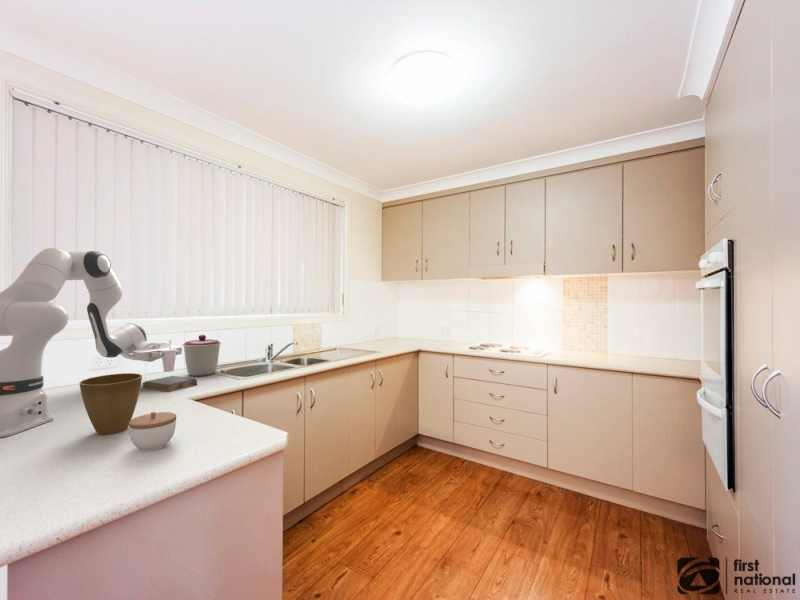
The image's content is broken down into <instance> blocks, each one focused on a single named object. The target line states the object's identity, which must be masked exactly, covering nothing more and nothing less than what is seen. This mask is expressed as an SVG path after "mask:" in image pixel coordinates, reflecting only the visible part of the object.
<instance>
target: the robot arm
mask: <svg viewBox="0 0 800 600" xmlns="http://www.w3.org/2000/svg"><path fill="white" fill-rule="evenodd" d="M111 265H112V263H111V261H110V259H109V257H108V256H107V255H106V254H105V253H103V252H100V251H93V250H90V251H70V252H69V251H68V252H66V251H65V250H63V249H60V248H57V247H47V248H45V249H42V250H41V251H40V252H38V253H37V254H36V255H35V256H33V258H32V259H31V260H30V261H29V263H27V265H26V266H25V268H24V269H23V271H22V272H21V273H20V275H19V276H17V278H16V279H15V280H14V281H13V283H12V284H10V286H8V287H6V288H5V289H3V290H1V291H0V337H11V336H12V339H11V341H10V344H9V345H8V346H7V347H5V348H3V349H2V350H0V438H4V437H10V436H12V435H15V434H18V433H21V432H24V431H27V430H29V429H31V428H33V427H34V428H35V427H37V426H40V425H43V424H45V423H47V422H50V421H54V416H53V415H50V410H49V401H48V396H47V395H48V394H46V393H45V392H44V390H43V387H44V382H45V380H44V376H43V375H42V368H43V367H42V365H43V363H42V362H43V355H44V351H45V348H46V346H47V344H48V343H49V341H50V340H51V339H52V338H53V337H54V336H56V335H57V334H58V333H61V332H62V331H63V330H64V328H66V327H67V324H68V321H69V315H68V312H67V310H66V309H65V308H64V307H63V306H62V305H61V304H57V303H53V302H51V301H53V300H54V299H55V298H57V296H58V294H59V293H60V291H61V290H62V288H63V287H64V285H65V283H66V281H82V280H83V283H84V285H85V287H86V290H87V291H88V295H89V302H88V304H87V306H86V311H87V316H88V320H89V323H90V327H91V329H92V333H93V336H94V339H95V340H94V341H95V347H96V351H97V353H98V354H99V355H101V356H102V357H105V358H116V357H118V356H121V357H123V358H124V359H128V360H131V361H139V362H148V363H151V362H155V361H157V360H160V359H162V357H163V356H164V355H163V353H161V350H163V349H169V343H168V342H165V343H164V342H163V343H162V342H161V343H160V342H159V343H158V342H148V341H147V334H146V331H145V330H144V329H143V328H142V327H141V325H137V324H136V323H135V324H134V323H130V322H128V323H126V324H124V325H123V326H120V327H119V328H117V329H116V330H113V331H112V332H110V331H109V327H108V325H107V316H108V315H109V313H110V312H111V310H112V309H113V308H114V307H115V306H116V305H117V304H118V303H119V302H120V300H121V299H122V296H123V294H124V293H123V288H122V285H121V283H120V281H119V279H118V277H117V275H116V273H115V271H113V269H112V266H111ZM171 349H177V352H176V356H179V355H182V354H183V353H182V352H183V348H182V346H181V345H176V344H175V345H174V344H171Z"/></svg>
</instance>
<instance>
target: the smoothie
mask: <svg viewBox="0 0 800 600" xmlns="http://www.w3.org/2000/svg"><path fill="white" fill-rule="evenodd" d="M168 344H169V349H163V350H161V353H163V355H164V356H163V357H162V358H161V359H162V366H163V367H162V368H163V372H164V373H165V372H166V373H169V372H174V369H175V363H176V357H177V355H176V352H177V349H171V345H172V340H171V339H170V340H169V343H168Z"/></svg>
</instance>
